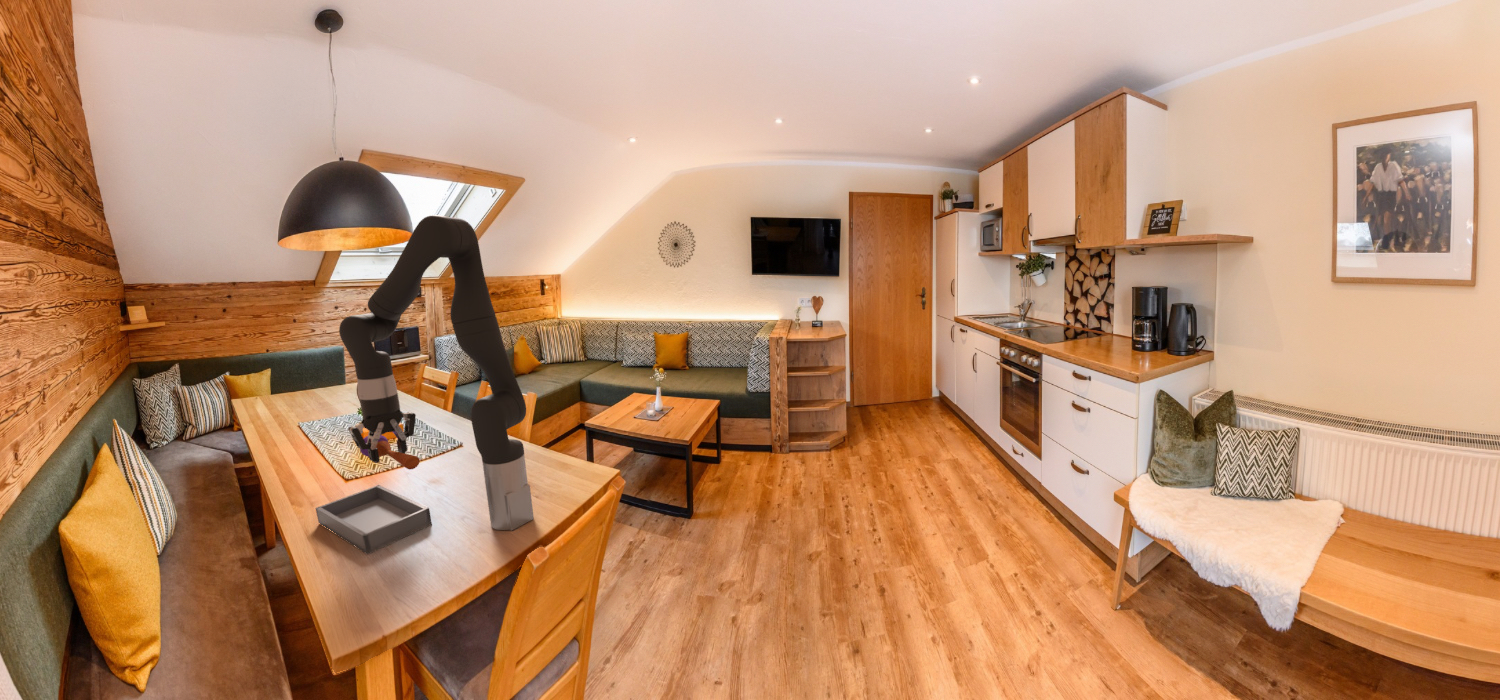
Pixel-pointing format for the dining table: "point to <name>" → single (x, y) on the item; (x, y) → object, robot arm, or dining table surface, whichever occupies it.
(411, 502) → the box
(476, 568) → the dining table surface
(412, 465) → the purple and brown maraca
